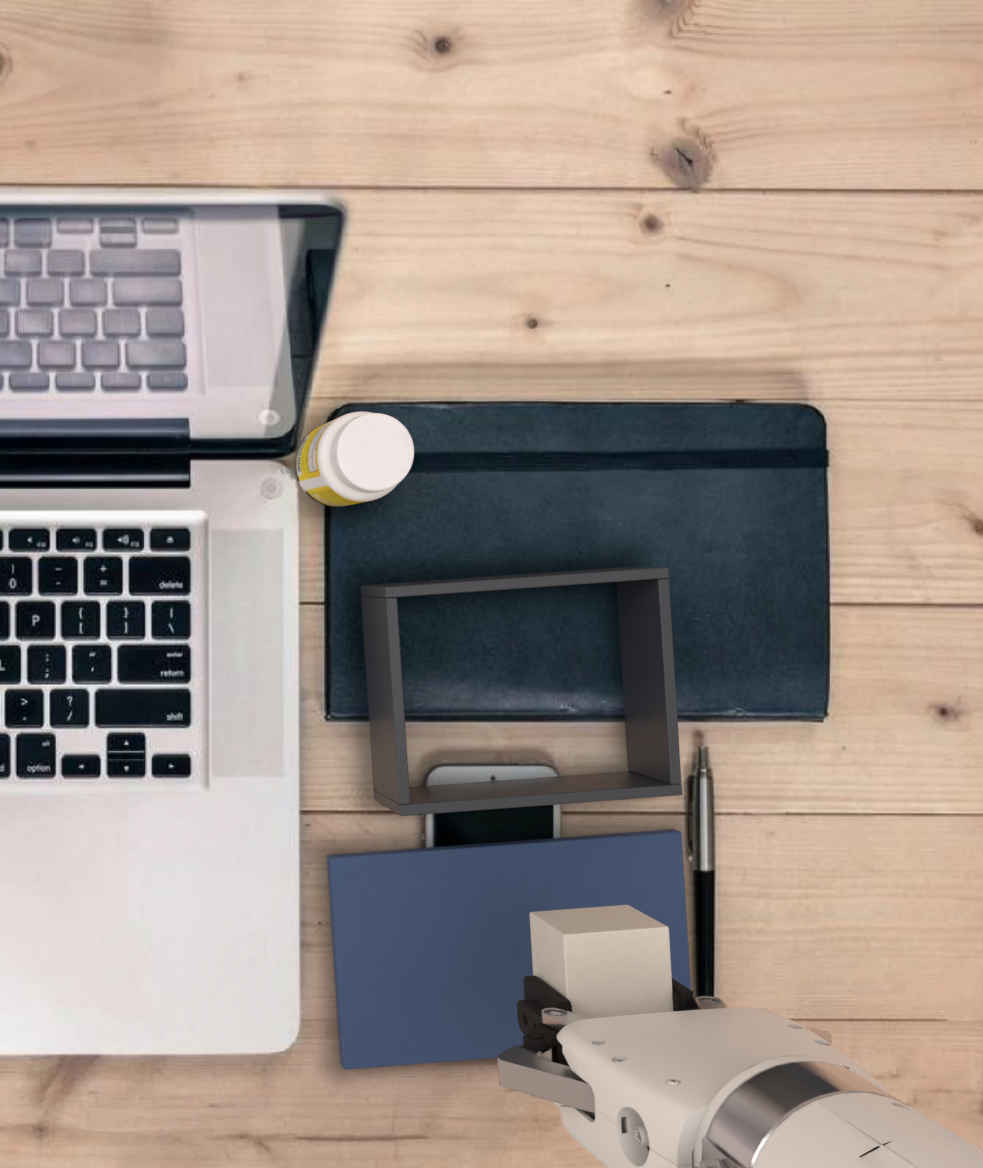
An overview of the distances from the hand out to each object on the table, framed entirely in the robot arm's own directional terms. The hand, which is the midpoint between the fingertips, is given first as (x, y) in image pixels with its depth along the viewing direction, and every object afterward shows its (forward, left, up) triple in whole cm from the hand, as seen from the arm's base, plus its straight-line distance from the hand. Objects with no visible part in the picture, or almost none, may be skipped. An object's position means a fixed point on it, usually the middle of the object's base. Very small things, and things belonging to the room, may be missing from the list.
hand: (590, 1002), depth 65 cm
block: (0, 0, -1) cm, 1 cm away
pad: (0, 0, -11) cm, 11 cm away
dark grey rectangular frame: (+15, 0, -11) cm, 18 cm away
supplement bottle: (+28, +8, -11) cm, 31 cm away
